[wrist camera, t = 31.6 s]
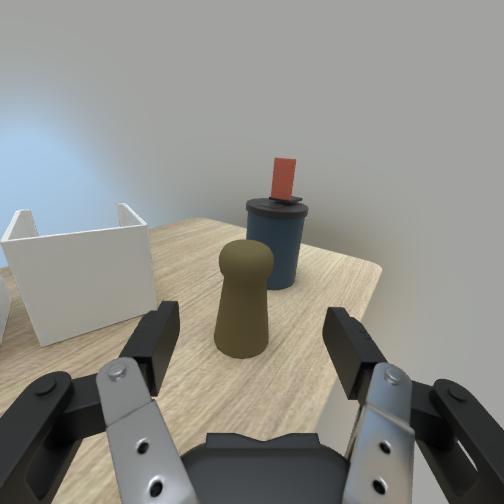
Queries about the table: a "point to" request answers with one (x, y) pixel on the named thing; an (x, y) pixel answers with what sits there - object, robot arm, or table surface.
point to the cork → (243, 298)
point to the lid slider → (283, 181)
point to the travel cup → (277, 236)
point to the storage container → (78, 276)
